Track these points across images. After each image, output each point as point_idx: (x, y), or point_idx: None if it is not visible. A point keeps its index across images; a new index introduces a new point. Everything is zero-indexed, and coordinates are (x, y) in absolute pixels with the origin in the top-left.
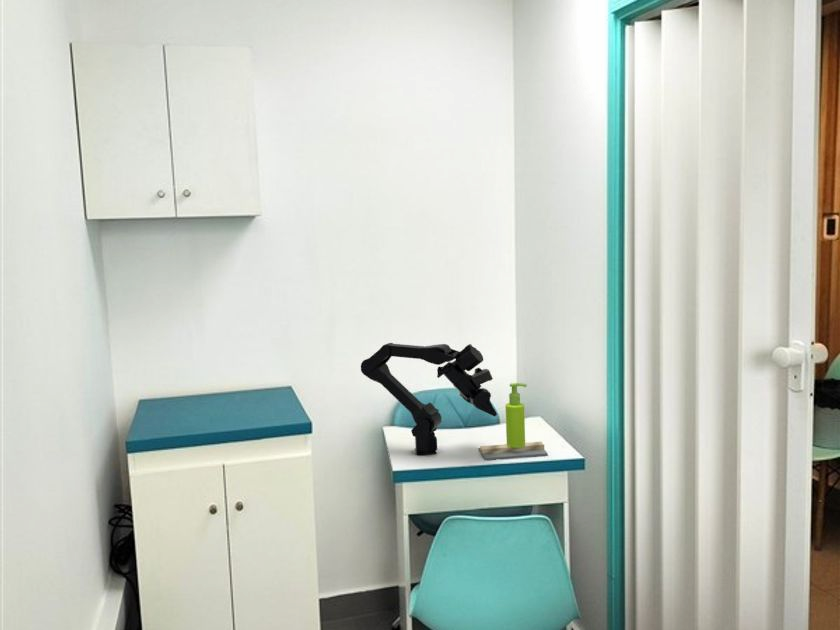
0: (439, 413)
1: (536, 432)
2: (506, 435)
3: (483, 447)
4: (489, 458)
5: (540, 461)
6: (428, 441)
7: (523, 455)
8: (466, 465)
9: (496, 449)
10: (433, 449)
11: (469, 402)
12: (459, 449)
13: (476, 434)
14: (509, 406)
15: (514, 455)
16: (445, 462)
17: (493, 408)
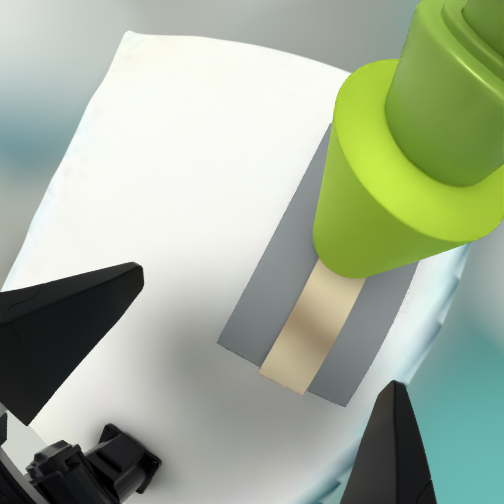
0: (47, 481)
1: (204, 63)
2: (338, 266)
3: (283, 374)
4: (354, 390)
5: (470, 244)
6: (130, 491)
7: (418, 262)
8: (332, 472)
9: (335, 338)
10: (141, 461)
11: (36, 413)
12: (162, 380)
13: (82, 214)
14: (476, 231)
15: (401, 293)
16: (254, 495)
17: (421, 452)
